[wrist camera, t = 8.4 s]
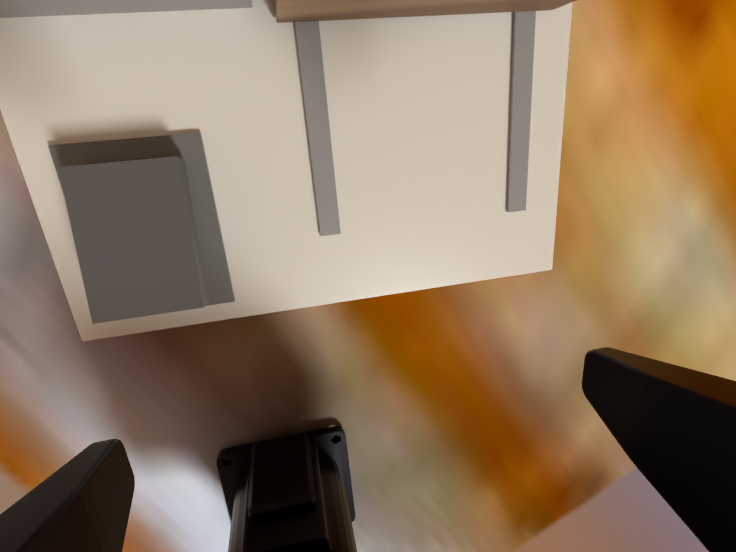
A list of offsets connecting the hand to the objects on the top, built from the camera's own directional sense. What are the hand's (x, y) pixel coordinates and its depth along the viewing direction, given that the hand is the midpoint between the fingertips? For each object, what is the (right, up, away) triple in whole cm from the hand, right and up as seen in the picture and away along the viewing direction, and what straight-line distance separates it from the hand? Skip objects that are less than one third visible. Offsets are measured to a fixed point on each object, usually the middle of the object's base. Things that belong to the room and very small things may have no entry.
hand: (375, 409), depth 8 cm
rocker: (-8, +4, +6) cm, 11 cm away
